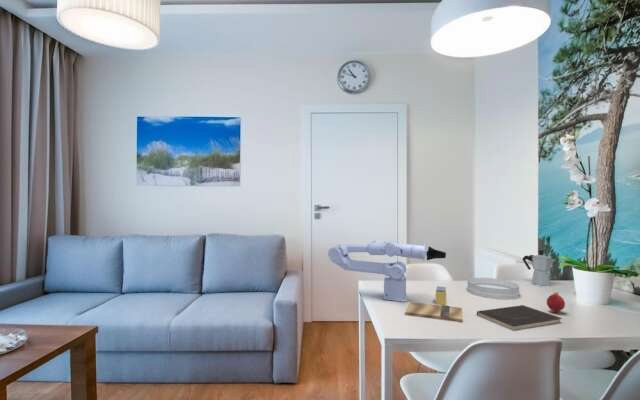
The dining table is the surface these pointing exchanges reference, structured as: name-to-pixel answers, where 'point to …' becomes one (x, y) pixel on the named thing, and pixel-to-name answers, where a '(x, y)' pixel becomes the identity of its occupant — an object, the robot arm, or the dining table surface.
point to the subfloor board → (434, 311)
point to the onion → (555, 302)
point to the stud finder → (441, 295)
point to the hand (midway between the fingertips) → (445, 255)
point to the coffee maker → (540, 268)
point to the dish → (493, 288)
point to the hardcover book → (518, 317)
